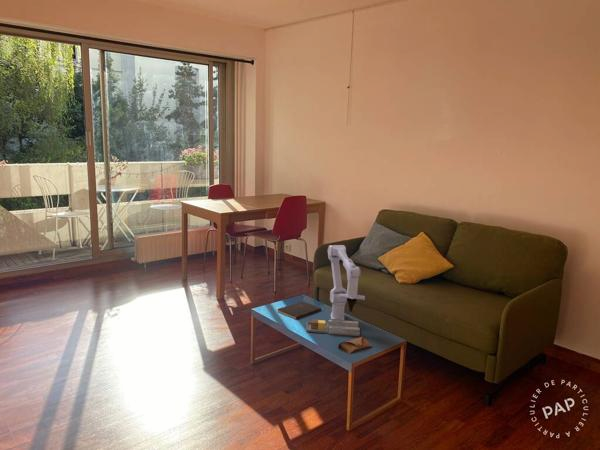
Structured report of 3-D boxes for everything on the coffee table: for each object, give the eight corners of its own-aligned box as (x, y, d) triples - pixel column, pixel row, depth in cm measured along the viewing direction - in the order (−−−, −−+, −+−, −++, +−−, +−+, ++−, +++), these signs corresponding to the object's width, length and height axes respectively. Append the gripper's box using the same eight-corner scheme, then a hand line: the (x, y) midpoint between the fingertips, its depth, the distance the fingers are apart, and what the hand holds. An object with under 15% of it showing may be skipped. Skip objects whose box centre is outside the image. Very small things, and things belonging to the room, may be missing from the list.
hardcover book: (276, 312, 287) (277, 309, 287) (302, 304, 304) (302, 300, 304) (296, 320, 277) (296, 316, 276) (321, 311, 294) (321, 308, 293)
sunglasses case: (349, 354, 236) (345, 341, 237) (340, 356, 241) (336, 343, 242) (373, 346, 247) (370, 333, 248) (364, 348, 252) (361, 336, 254)
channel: (328, 325, 271) (328, 319, 270) (357, 327, 271) (358, 321, 270) (328, 333, 259) (329, 327, 259) (359, 336, 259) (359, 329, 258)
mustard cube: (317, 326, 267) (318, 320, 267) (324, 327, 267) (325, 320, 266) (317, 329, 263) (318, 322, 263) (324, 330, 263) (325, 323, 263)
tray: (306, 324, 271) (306, 321, 271) (327, 325, 271) (327, 323, 270) (306, 331, 260) (306, 329, 260) (327, 333, 260) (328, 331, 260)
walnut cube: (310, 326, 268) (311, 319, 267) (317, 326, 267) (318, 319, 267) (310, 328, 264) (311, 322, 263) (317, 329, 264) (318, 322, 263)
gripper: (339, 289, 261) (338, 312, 263) (366, 291, 260) (363, 314, 263) (339, 285, 268) (337, 308, 270) (364, 287, 267) (362, 309, 270)
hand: (350, 310), depth 267 cm, fingers closed
